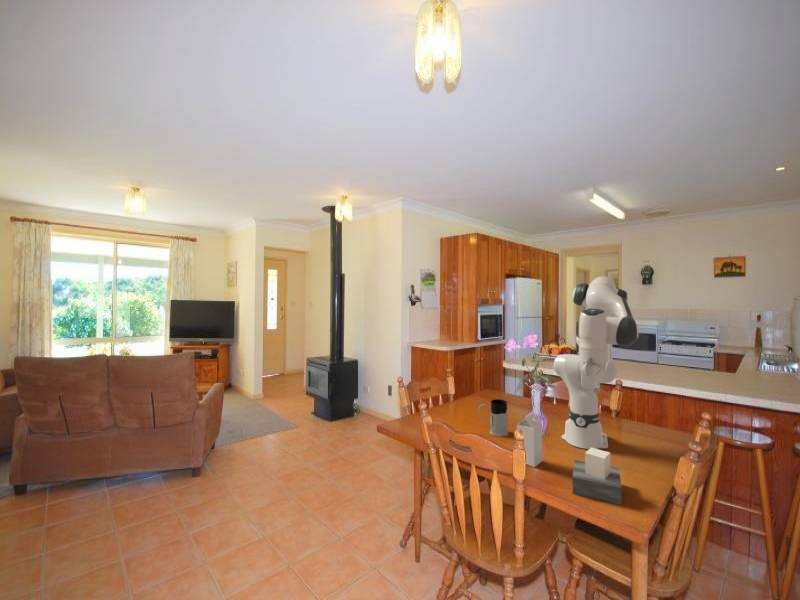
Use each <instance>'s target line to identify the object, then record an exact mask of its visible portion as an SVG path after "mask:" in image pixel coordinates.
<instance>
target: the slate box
mask: <svg viewBox="0 0 800 600" xmlns="http://www.w3.org/2000/svg"><path fill="white" fill-rule="evenodd" d="M621 479H622V478H621V471H620V468H619V467H614V466H610V474H609V475H608V476H607V477H606V478H605V479H602V478H599V477H596V476H593V475H589V474H586V473H585V460H584V461H582V460H578V459H574V464H573V472H572V494H573V495H577V496H581V497H586V498H588V499H594V500H598V501H603V502H606V503H611V504H615V505H619V506H622V501H623V500H622V498H623V496H622V495H623V494H622V481H621Z"/></svg>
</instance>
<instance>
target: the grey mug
mask: <svg viewBox="0 0 800 600" xmlns="http://www.w3.org/2000/svg"><path fill="white" fill-rule="evenodd" d="M482 406H483V407H486V412H487V413H488V414H490V424H489V423H487V422H486V421H485V420H484V419H483V418H482V416H481V413H480V411H478V415H479V417H480V419H481V421H482V422H483V423H485V424H486V425H487V426H488V427H489V433H490V434H491V435H493V436H497V437H505V436H508V435H509V431H508V425H509V424H508V422H509V421H508V401H506V400H504V399H492V400H490V411H489V408H488V406H487V405H486V404H480V405H479V407H478V410H480V408H481V407H482Z"/></svg>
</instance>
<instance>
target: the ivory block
mask: <svg viewBox="0 0 800 600" xmlns="http://www.w3.org/2000/svg"><path fill="white" fill-rule="evenodd" d="M584 462H585V473H586V474H589V475H593V476H596V477H599V478H602V479H605V478H606V477H607V476H608V475H609V474H610V467H611V452H610V451H605V450H602V449H600V448H599V449H595V448H592V447H591V448H590V449H587V450H586V451H585V452H584Z"/></svg>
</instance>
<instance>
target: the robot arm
mask: <svg viewBox="0 0 800 600" xmlns="http://www.w3.org/2000/svg"><path fill="white" fill-rule="evenodd" d="M571 296H572V300H573V303H574V304H575V305H577V306H579V307H585V309H583V310H581V311H580V315H579V320H578V321H579V322H577V324H576V338H575V342H576V345H578V354H572V353H564V354H559V355H557V356H556V357H555V358H554V359H553V360H554V361H553V369H554V372H555V373H556V375H557V376H558V377H560V378H561V379H562V381H563V382H564V383H565V386H566V388H567V390H568V395H569V409H568V417H569V418H568V419H567V420H566V421H565V426H564V427H565V428H564V429H565V430H564V433H563V434H562V435H561V439H563V440H565V441H566V442H567V443H568V444H569V445H571V446H573V447H576V448H580V449H587V450H589V449H590V448H591V447H592V448H595V449H599V450H600V449H608V448H609V443H608V435H607V434H606V433H604V432H603V427H602V424H601V422H600V413H599V405H598V404H599V399H598V395H597V394H599V393H600V388H601V384H606V383H607V384H608V383H612V382H613V381H614V380H615V379H616V377H617V374H618V369H617V366H616V364H615V362H614V361H612V360H611V359H610V358H609V347H608V345H614V346H615V345H618V346H623V347H625V346H626V347H629V346H632V345H633V344H635V343H636V342H637V341H638V339H639V327H638V324H637V323H636V320H635V319H634V318H633V315H632V311H631V309H630V306H629V304H628V302H629V297H628V292H627V291H626V290H623V289H621V288H619V287H618V288H617V287H616V284H615V281H613V279H611V278H610V277H609V276H603V275H602V276H598V277H595V278H594V279H593V280H592V281H591V282H590V283H579V284H577V285H576V287H574V288H573V290H572V294H571ZM608 316H609V317H608ZM614 316H615V317H614Z"/></svg>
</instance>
